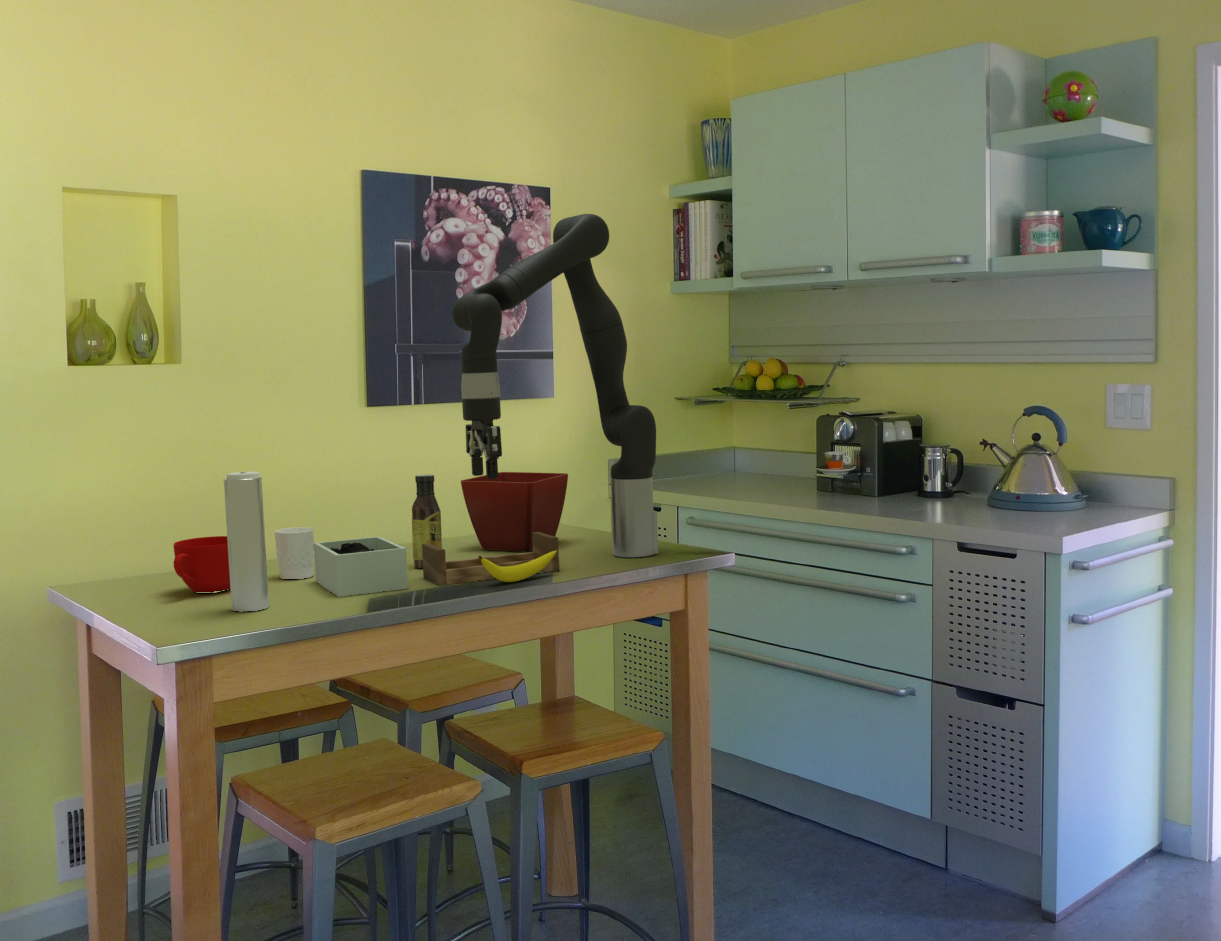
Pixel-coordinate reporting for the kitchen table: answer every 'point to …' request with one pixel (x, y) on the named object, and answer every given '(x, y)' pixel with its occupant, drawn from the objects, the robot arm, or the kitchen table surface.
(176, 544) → the ceramic cup
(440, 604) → the kitchen table surface
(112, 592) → the kitchen table surface
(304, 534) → the white cup
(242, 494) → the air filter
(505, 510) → the plant pot
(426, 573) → the cradle
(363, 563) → the camera caddy
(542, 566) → the banana
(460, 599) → the kitchen table surface
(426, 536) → the sauce bottle
